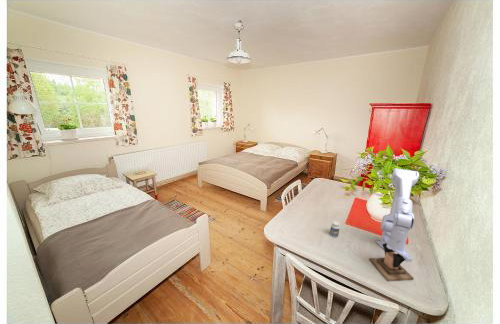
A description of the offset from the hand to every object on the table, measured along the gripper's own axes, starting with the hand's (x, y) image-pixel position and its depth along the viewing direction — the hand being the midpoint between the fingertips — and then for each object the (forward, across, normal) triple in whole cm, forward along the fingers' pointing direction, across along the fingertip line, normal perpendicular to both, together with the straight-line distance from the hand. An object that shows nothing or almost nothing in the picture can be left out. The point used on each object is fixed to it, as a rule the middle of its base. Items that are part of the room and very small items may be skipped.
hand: (391, 262), depth 89 cm
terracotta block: (+2, 0, 0) cm, 2 cm away
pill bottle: (+4, -26, -14) cm, 30 cm away
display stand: (+4, 0, 0) cm, 4 cm away
